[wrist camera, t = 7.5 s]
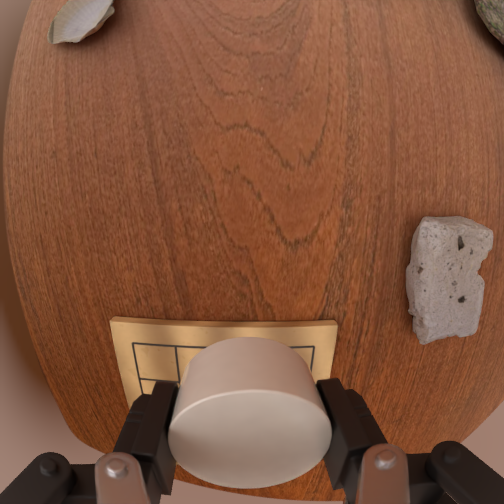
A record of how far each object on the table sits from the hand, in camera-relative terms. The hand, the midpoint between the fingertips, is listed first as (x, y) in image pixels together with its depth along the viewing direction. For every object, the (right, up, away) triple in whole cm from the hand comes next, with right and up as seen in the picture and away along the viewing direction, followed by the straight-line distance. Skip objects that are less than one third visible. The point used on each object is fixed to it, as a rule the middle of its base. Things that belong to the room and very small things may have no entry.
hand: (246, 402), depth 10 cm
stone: (+19, +3, +16) cm, 25 cm away
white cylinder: (0, 0, +1) cm, 1 cm away
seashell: (-16, +28, +9) cm, 33 cm away
